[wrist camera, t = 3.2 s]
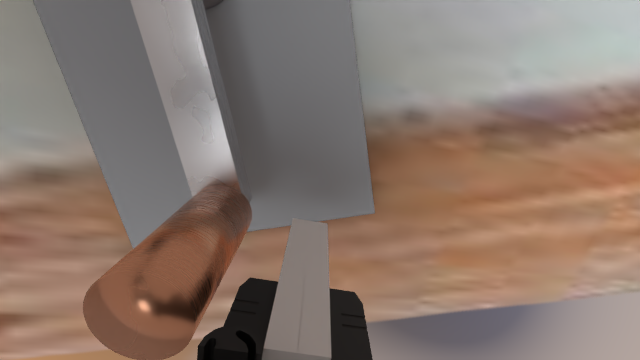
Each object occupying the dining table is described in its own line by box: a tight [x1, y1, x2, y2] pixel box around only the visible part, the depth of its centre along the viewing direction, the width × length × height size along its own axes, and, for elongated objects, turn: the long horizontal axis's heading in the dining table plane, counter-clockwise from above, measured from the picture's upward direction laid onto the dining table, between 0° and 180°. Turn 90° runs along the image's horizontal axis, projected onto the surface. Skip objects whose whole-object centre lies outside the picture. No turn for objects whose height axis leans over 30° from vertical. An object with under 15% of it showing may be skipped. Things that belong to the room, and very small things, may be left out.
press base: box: [33, 0, 375, 248], centre depth 16 cm, size 25×17×4 cm
